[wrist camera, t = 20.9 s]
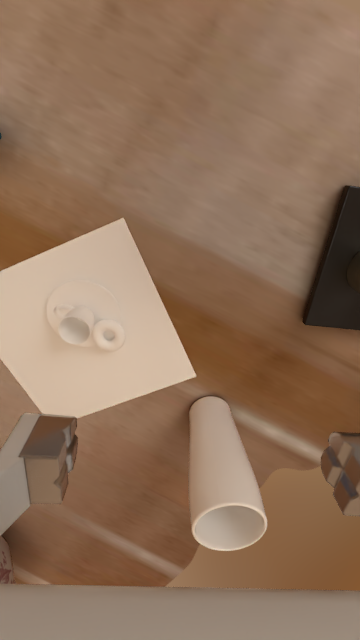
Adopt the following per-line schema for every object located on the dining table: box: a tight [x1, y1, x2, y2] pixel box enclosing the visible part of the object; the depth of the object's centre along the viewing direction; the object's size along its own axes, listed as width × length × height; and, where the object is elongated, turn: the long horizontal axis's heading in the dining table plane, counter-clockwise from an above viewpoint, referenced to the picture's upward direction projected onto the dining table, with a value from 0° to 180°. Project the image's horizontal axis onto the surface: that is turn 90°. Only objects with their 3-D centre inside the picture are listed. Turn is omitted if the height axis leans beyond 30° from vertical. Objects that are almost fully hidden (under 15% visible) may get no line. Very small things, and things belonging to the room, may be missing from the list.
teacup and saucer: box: [45, 279, 127, 353], centre depth 33 cm, size 9×8×4 cm
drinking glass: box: [188, 396, 267, 551], centre depth 34 cm, size 7×7×15 cm
